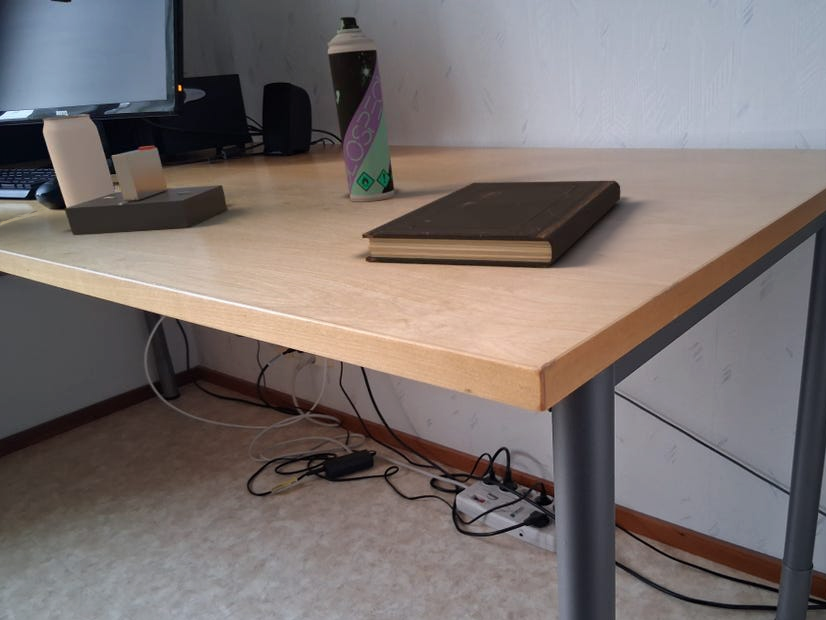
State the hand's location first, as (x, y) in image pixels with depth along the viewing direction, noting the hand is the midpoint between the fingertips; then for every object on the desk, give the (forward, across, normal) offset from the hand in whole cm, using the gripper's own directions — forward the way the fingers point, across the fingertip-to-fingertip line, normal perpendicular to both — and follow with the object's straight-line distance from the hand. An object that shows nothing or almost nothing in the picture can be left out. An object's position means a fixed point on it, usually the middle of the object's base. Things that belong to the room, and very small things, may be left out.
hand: (21, 5), depth 79 cm
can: (+24, -5, +9) cm, 27 cm away
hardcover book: (+24, +55, -20) cm, 63 cm away
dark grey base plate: (+24, +12, -5) cm, 28 cm away
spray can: (+24, +37, +2) cm, 44 cm away
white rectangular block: (+21, +12, -5) cm, 25 cm away
